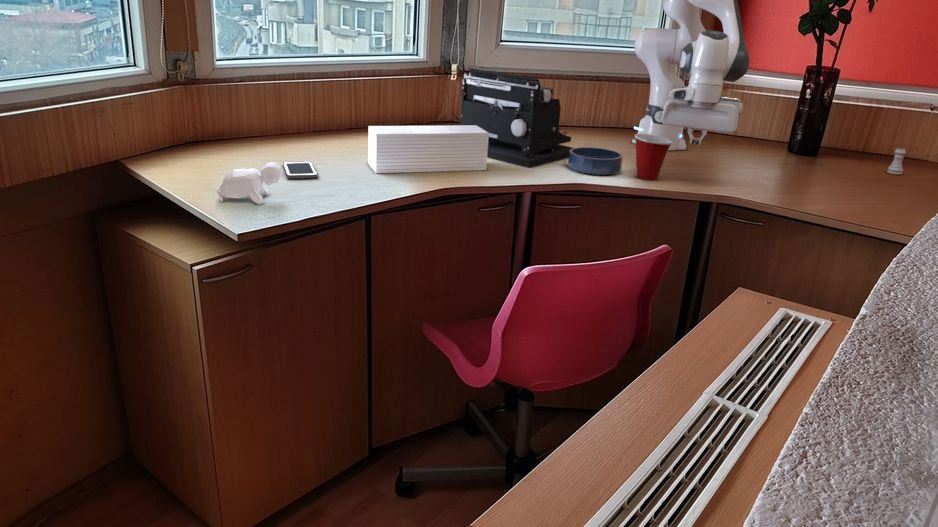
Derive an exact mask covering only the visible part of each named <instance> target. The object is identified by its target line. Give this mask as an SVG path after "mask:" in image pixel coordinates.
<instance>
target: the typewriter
mask: <svg viewBox="0 0 938 527" xmlns="http://www.w3.org/2000/svg"><path fill="white" fill-rule="evenodd" d="M468 71H469V74H468V75H467V73H464V74H463V77H461V97H460V99H461V100H460V118H459V123H460V124H459V125H477V126H478V127H480V128H482V129H483V130H485V131H487V132H488V133H489V136H488V137H489V139H488V146H487V147H488V153H487V159H488V158H489V159H493V160H497V161H500V162H505V163H508V164H513V165H516V166H520V167H525V168H534V167H537V166H542V165H546V164H549V163H553V162H557V161H561V160H565V159H569V150H570V149H573V148H574V147H572V146H568V145H563V144H566V143H570V142H572V136H569V135H568V131H562V127H561V126H560V121H561V120H560V119H561V111H562V110H561V109H562V108H561V101H560V99H559V98H554V97H553V96H554V95H553V94H554V89H553V88H549V87H545V86H541V84H542V80H539V79H538V78H534V77H528V76H522V75H515V74H509V73H503V72H496V71H489V70H483V69H477V68H471V67H469V68H468ZM561 131H562V133H561Z"/></svg>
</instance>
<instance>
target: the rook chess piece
mask: <svg viewBox="0 0 938 527" xmlns="http://www.w3.org/2000/svg"><path fill="white" fill-rule="evenodd" d="M894 153H895V154H894V155H893V161H892V162H891V164H890V166H888V167H887V170H886V173H887V174H890V175H893V176H901V175H902V174H903V171H904V169H903V160H904V158H905V157H904V156H905V155H906V154H907V152H906V149H905V148H898V147H896V149H895V150H894Z"/></svg>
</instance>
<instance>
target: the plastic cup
mask: <svg viewBox="0 0 938 527" xmlns="http://www.w3.org/2000/svg"><path fill="white" fill-rule="evenodd" d="M634 139H636V144H635V165H636V166H635V167H636V177H637V179H640V180H644V181H656V180H658V177H659V176H660V172H661V170H662V167H663V164H664V161H665V158H666V155H667V153H668V152H669V150H668V149H669V147H670V145H671V144H672V143H673V141H672V140H670V139H667V138H664V137H661V136H656V135H650V134H638V133H635V134H634Z"/></svg>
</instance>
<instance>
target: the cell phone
mask: <svg viewBox="0 0 938 527" xmlns="http://www.w3.org/2000/svg"><path fill="white" fill-rule="evenodd" d="M282 166H283V169H284V170H283V171H284V172H285V175H286V178H287V179H292V180H293V179H294V180H295V179H316V178H318V172H317V169H316V167H315V166H314V164H313V162H312V161H310V160H305V161H301V160H300V161H283V162H282Z"/></svg>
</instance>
